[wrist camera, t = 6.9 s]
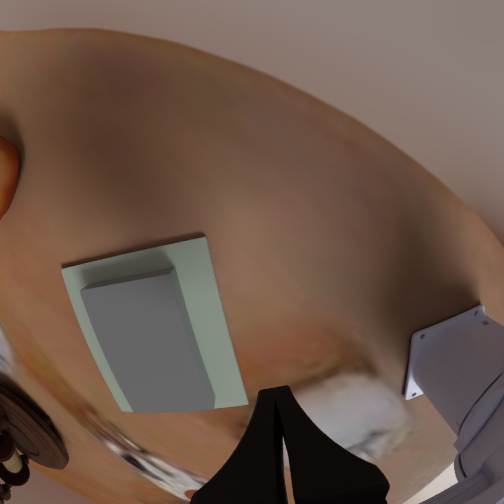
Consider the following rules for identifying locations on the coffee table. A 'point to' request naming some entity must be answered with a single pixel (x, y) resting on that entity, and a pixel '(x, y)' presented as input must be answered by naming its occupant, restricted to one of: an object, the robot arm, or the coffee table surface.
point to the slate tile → (149, 342)
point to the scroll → (24, 443)
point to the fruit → (8, 174)
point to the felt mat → (196, 300)
